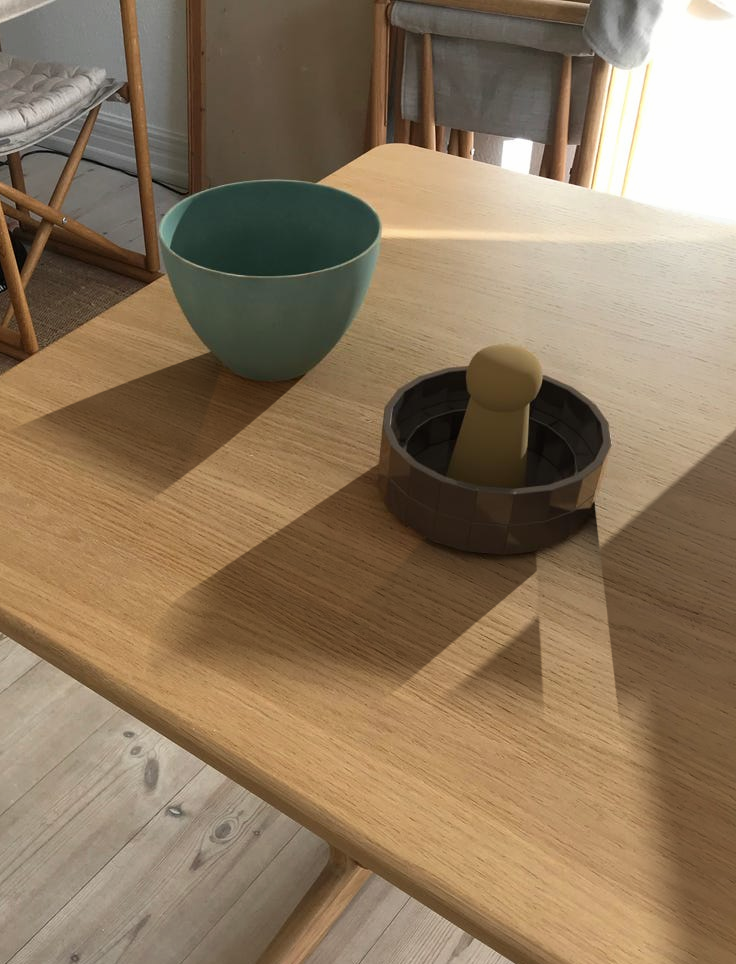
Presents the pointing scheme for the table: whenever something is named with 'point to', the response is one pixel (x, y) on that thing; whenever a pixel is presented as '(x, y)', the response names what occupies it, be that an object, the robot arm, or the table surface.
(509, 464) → the yellow pawn
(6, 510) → the table surface
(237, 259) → the teal green deep bowl
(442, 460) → the bowl
